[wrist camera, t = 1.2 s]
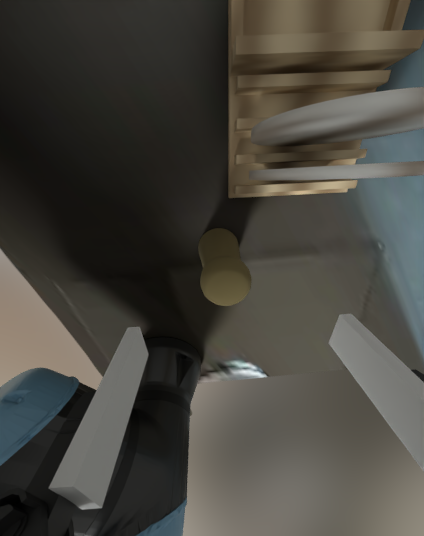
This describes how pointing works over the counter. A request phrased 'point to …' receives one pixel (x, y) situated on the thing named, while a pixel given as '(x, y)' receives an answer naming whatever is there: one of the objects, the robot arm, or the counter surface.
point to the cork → (222, 268)
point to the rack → (315, 93)
